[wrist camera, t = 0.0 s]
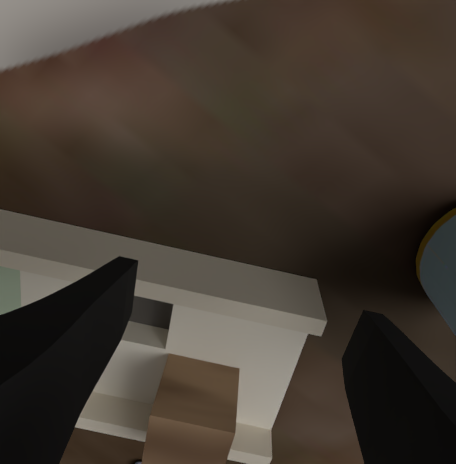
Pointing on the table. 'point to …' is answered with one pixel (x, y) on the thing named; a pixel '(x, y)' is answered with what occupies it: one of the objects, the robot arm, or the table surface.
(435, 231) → the bottle
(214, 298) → the trap lane
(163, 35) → the table surface
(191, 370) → the block
